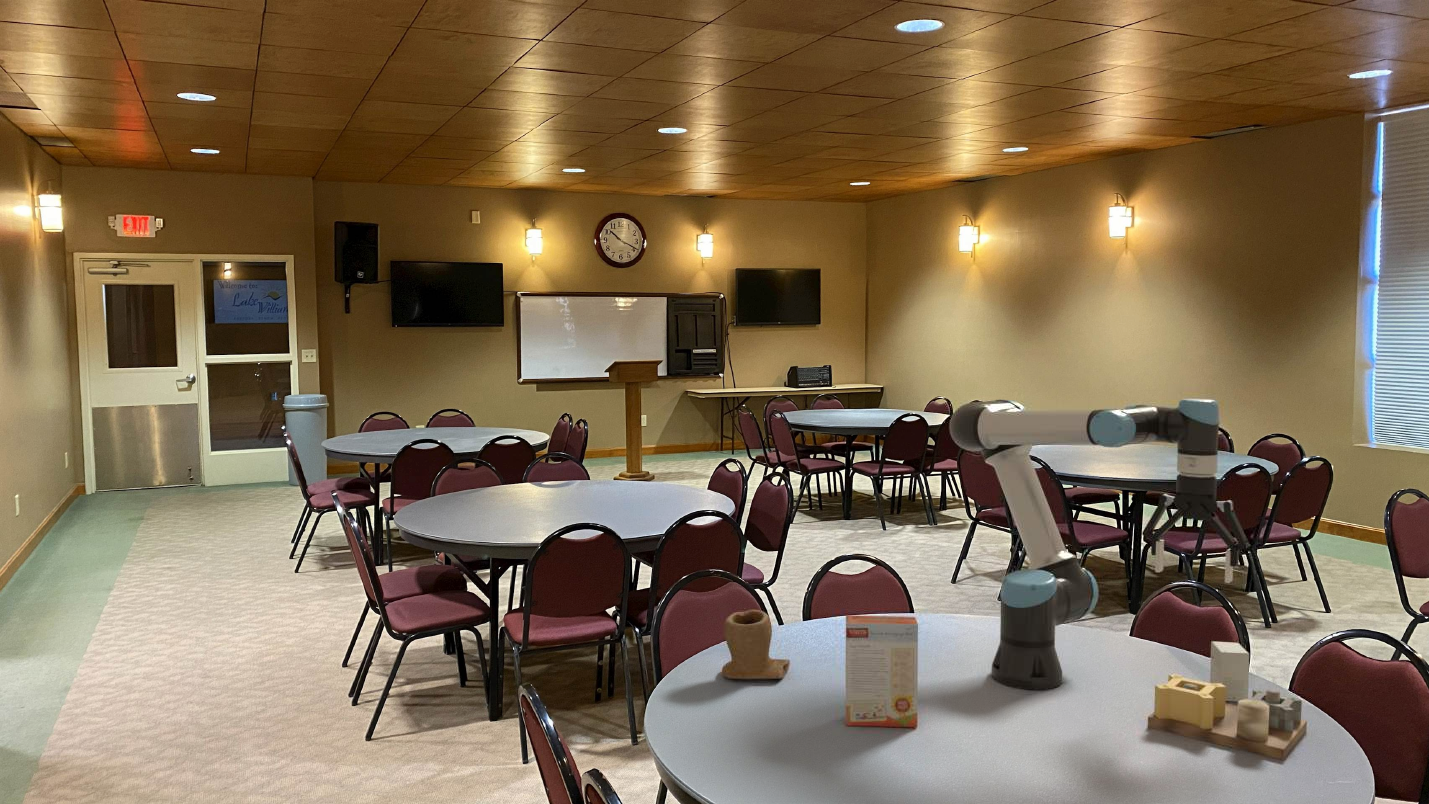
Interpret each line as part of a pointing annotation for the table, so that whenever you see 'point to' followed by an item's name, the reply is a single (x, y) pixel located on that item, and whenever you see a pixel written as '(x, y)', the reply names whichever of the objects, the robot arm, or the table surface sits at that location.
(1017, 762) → the table surface
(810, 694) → the table surface
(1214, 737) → the board
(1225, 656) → the small box
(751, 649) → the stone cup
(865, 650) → the cracker box
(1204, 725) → the tan notched block
